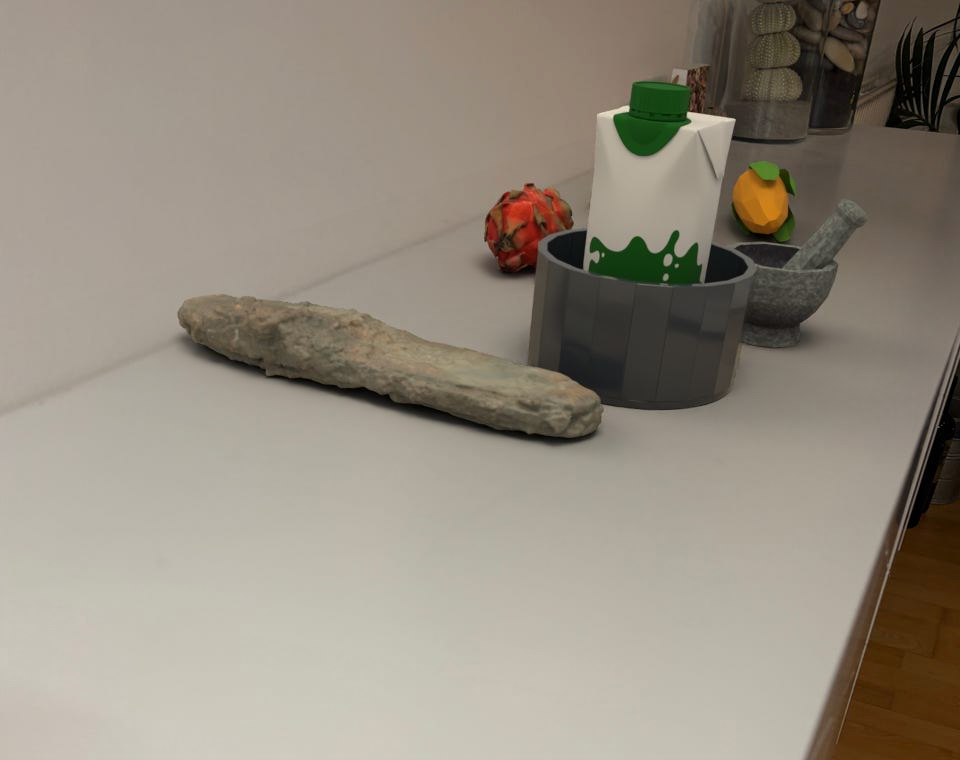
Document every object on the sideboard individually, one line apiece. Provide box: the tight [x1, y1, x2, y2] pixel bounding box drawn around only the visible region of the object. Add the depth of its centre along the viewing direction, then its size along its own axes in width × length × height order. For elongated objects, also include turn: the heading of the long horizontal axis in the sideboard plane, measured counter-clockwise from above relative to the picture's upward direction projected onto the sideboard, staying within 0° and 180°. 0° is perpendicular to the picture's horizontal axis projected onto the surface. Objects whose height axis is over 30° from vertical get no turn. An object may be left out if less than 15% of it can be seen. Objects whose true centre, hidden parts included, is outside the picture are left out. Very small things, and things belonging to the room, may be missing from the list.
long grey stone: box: [177, 293, 604, 439], centre depth 79 cm, size 35×5×10 cm
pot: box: [527, 227, 758, 410], centre depth 84 cm, size 16×16×9 cm
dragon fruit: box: [483, 182, 575, 273], centre depth 107 cm, size 8×8×12 cm
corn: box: [730, 160, 797, 243], centre depth 126 cm, size 7×8×20 cm
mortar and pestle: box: [726, 198, 869, 349], centre depth 93 cm, size 11×9×12 cm
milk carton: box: [583, 80, 737, 284], centre depth 81 cm, size 9×9×20 cm
